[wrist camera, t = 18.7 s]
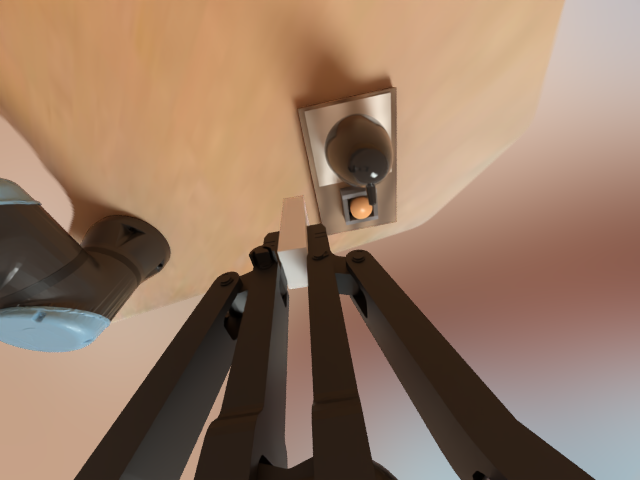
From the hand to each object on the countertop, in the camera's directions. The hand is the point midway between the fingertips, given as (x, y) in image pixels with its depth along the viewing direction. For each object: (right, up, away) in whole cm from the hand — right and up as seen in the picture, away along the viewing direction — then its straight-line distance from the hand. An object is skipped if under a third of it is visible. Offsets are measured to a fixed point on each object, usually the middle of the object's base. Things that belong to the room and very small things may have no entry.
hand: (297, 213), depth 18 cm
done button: (+9, +5, +29) cm, 31 cm away
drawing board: (+8, +12, +28) cm, 32 cm away
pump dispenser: (+7, +15, +24) cm, 29 cm away
